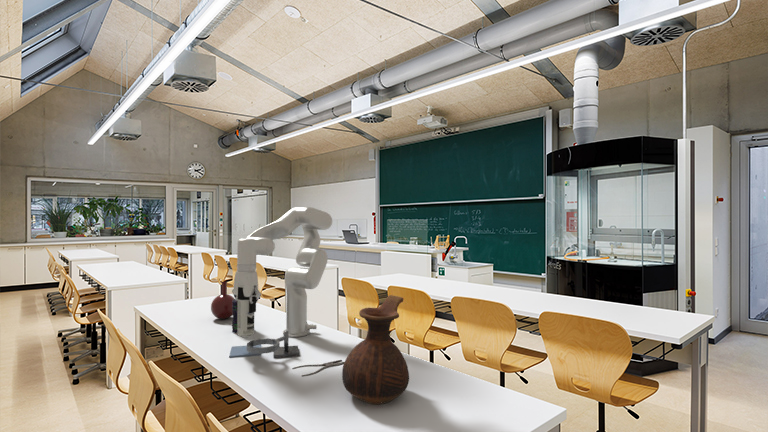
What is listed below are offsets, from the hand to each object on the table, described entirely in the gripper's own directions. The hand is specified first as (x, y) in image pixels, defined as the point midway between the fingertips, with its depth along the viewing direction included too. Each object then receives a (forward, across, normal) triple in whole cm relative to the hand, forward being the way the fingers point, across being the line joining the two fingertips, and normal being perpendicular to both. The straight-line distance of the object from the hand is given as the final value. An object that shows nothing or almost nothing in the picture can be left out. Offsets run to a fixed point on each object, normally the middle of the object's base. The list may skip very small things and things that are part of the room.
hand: (246, 311), depth 171 cm
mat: (+17, 0, 0) cm, 17 cm away
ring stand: (+17, +16, 0) cm, 23 cm away
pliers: (+17, +36, +2) cm, 40 cm away
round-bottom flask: (+17, -51, +31) cm, 62 cm away
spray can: (+10, 0, 0) cm, 10 cm away
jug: (+17, +67, -8) cm, 70 cm away
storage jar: (+17, -25, +21) cm, 36 cm away
